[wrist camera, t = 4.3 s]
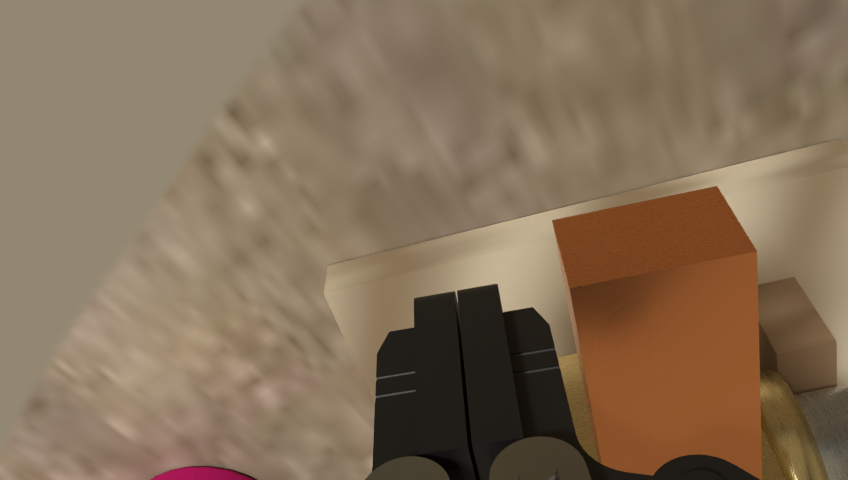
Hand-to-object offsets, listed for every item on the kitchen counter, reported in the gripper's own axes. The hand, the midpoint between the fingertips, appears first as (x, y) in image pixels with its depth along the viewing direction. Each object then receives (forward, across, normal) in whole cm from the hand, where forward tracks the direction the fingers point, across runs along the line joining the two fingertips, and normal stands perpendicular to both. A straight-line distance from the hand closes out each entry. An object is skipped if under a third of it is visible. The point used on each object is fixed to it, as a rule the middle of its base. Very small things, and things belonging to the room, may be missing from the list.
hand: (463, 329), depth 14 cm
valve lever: (0, -3, +5) cm, 6 cm away
